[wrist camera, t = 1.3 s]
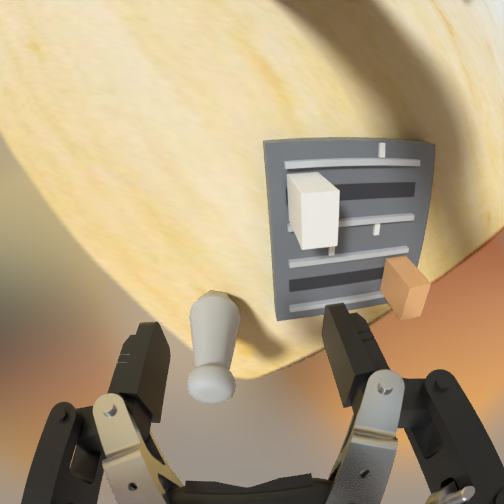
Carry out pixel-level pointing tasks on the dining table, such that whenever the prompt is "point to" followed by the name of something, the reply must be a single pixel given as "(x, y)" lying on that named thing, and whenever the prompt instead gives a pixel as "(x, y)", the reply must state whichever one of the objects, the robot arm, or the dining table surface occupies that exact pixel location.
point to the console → (347, 218)
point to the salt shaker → (213, 347)
